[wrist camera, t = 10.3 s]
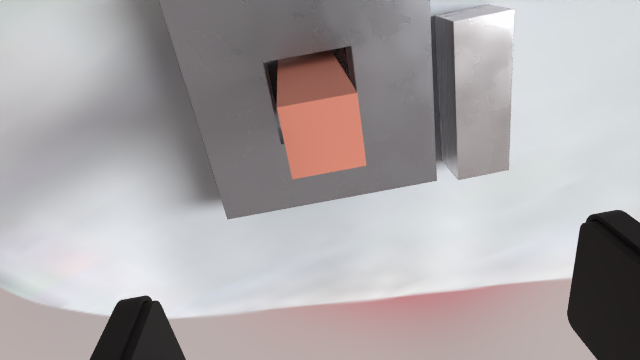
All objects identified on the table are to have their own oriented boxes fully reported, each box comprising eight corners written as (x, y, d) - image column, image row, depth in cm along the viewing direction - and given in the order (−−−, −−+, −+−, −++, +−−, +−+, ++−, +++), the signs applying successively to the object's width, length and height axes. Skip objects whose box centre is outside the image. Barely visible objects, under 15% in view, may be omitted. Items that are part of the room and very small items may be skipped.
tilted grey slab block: (433, 15, 26) (453, 21, 23) (487, 4, 26) (514, 9, 23) (440, 159, 31) (458, 180, 28) (486, 149, 31) (508, 169, 28)
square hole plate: (169, -14, 24) (155, -11, 21) (411, -58, 24) (427, -61, 21) (232, 197, 30) (227, 219, 28) (422, 161, 30) (436, 180, 28)
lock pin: (277, 59, 26) (276, 107, 18) (331, 49, 26) (357, 92, 18) (288, 111, 28) (292, 179, 19) (338, 102, 28) (366, 165, 19)
